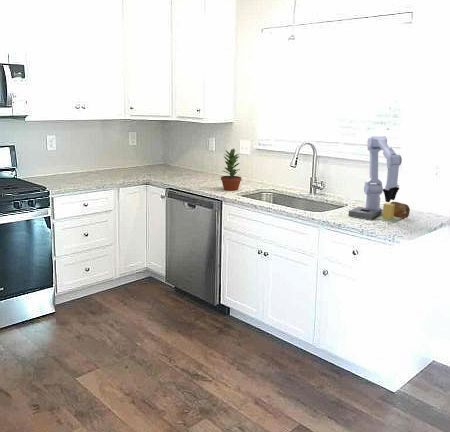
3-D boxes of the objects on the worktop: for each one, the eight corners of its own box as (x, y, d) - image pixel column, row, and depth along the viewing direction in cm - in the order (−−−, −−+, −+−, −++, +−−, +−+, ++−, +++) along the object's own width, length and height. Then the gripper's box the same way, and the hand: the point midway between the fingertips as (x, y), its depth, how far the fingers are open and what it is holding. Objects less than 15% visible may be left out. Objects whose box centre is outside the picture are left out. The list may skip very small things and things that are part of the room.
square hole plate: (358, 211, 307) (358, 206, 306) (381, 215, 299) (381, 210, 298) (348, 215, 296) (348, 210, 295) (371, 219, 288) (372, 214, 287)
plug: (384, 216, 294) (386, 202, 292) (393, 218, 291) (394, 204, 289) (382, 217, 290) (383, 204, 289) (390, 219, 288) (392, 205, 286)
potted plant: (233, 186, 376) (234, 145, 369) (245, 190, 364) (246, 147, 357) (215, 188, 368) (216, 146, 361) (227, 192, 356) (228, 148, 349)
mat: (382, 215, 298) (382, 214, 298) (401, 218, 292) (401, 217, 291) (375, 219, 289) (375, 218, 289) (394, 222, 283) (394, 221, 283)
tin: (387, 214, 302) (388, 200, 300) (391, 213, 303) (392, 199, 301) (405, 220, 289) (407, 205, 287) (409, 219, 290) (411, 205, 288)
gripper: (395, 179, 277) (392, 204, 280) (403, 176, 288) (401, 199, 291) (382, 177, 281) (380, 202, 284) (391, 174, 292) (389, 198, 296)
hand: (390, 200), depth 288 cm, fingers open, 7 cm apart
